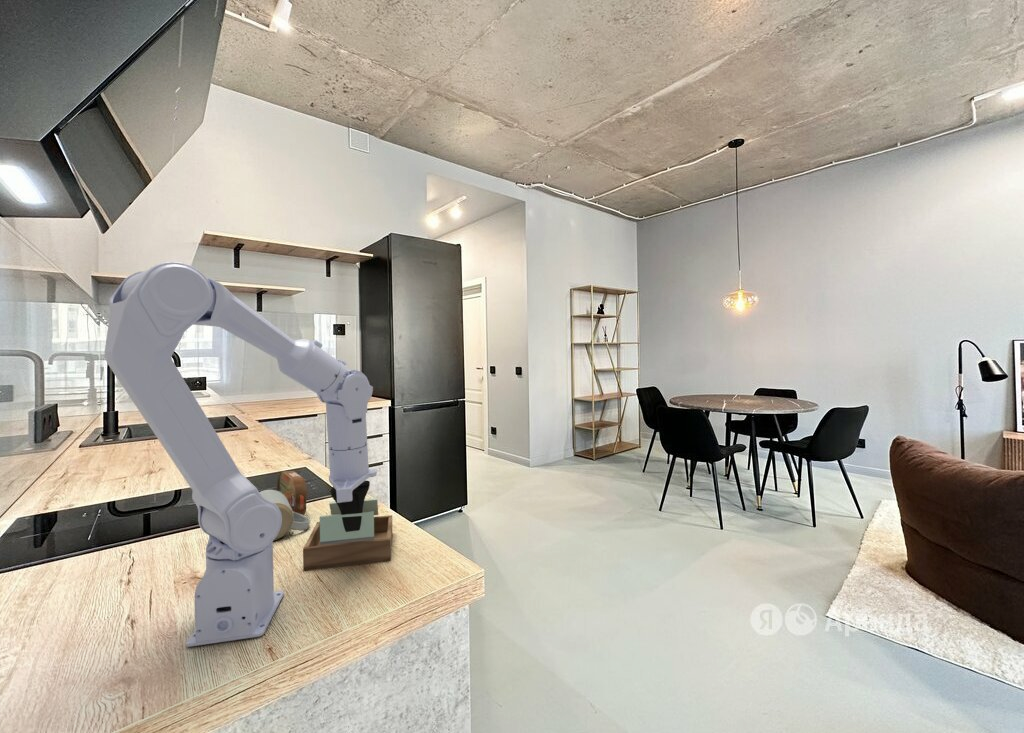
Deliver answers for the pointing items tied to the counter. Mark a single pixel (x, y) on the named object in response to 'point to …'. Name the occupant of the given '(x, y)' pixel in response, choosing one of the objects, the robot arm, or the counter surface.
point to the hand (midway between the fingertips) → (353, 529)
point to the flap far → (367, 507)
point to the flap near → (336, 533)
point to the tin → (293, 490)
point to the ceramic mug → (286, 513)
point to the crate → (349, 548)
